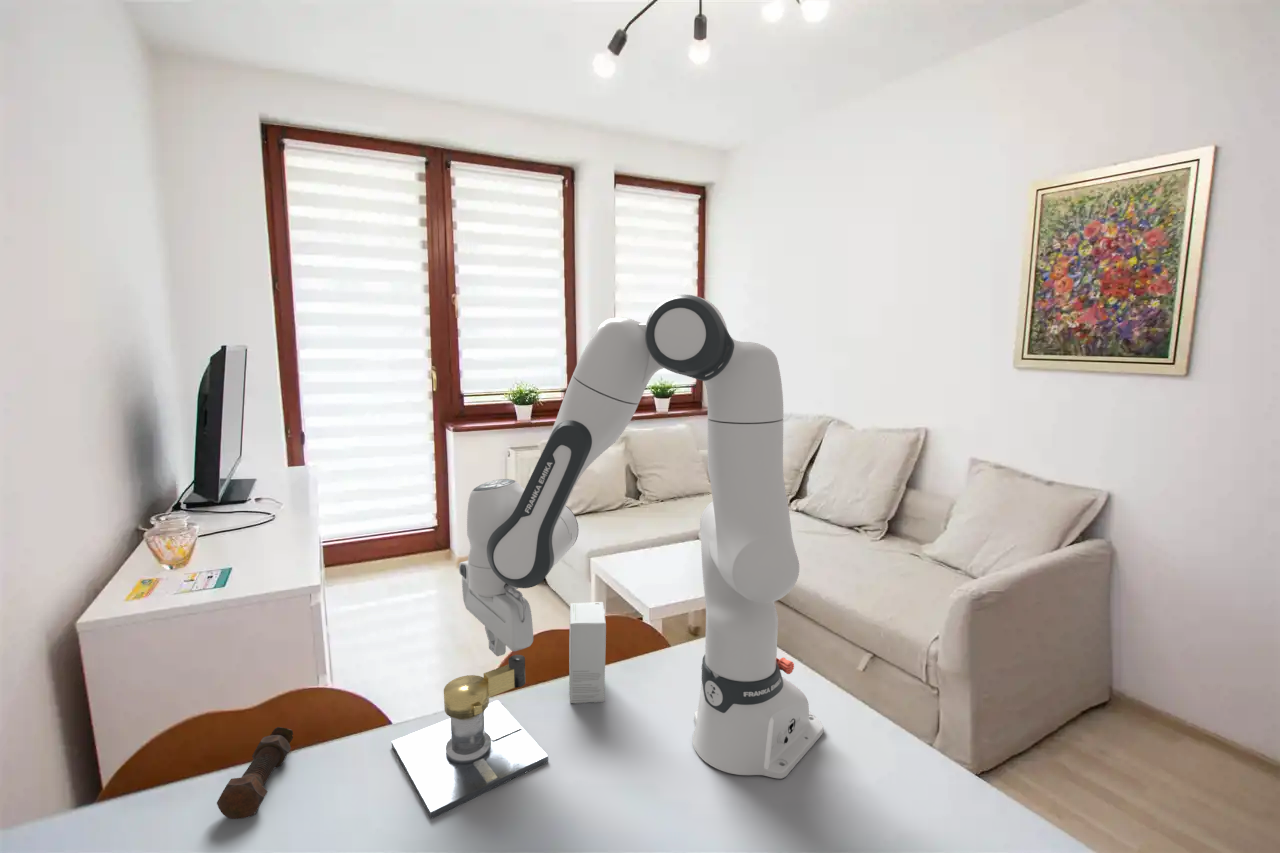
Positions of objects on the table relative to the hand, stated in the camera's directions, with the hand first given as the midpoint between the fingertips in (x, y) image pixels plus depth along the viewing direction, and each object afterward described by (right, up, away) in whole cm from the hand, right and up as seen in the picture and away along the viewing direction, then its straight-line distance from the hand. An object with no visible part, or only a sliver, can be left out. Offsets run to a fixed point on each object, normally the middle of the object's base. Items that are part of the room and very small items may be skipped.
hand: (497, 652), depth 102 cm
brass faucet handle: (0, -4, -8) cm, 9 cm away
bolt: (-31, -14, -14) cm, 37 cm away
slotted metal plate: (-2, -13, -9) cm, 16 cm away
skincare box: (+15, -10, +8) cm, 20 cm away
